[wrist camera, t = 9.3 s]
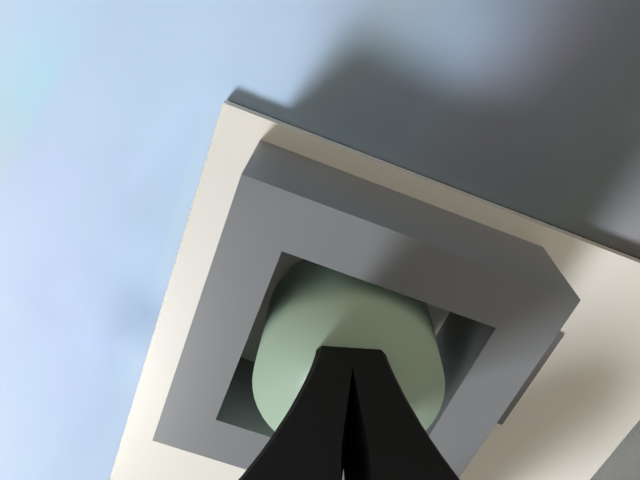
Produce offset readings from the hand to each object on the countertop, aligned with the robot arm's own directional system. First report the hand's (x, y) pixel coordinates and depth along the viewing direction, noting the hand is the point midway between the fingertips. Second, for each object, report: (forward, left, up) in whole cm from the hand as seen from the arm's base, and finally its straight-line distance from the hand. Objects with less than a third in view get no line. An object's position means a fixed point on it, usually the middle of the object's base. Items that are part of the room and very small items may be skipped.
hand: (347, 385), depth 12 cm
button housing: (0, 0, -3) cm, 3 cm away
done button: (0, 0, -3) cm, 3 cm away
